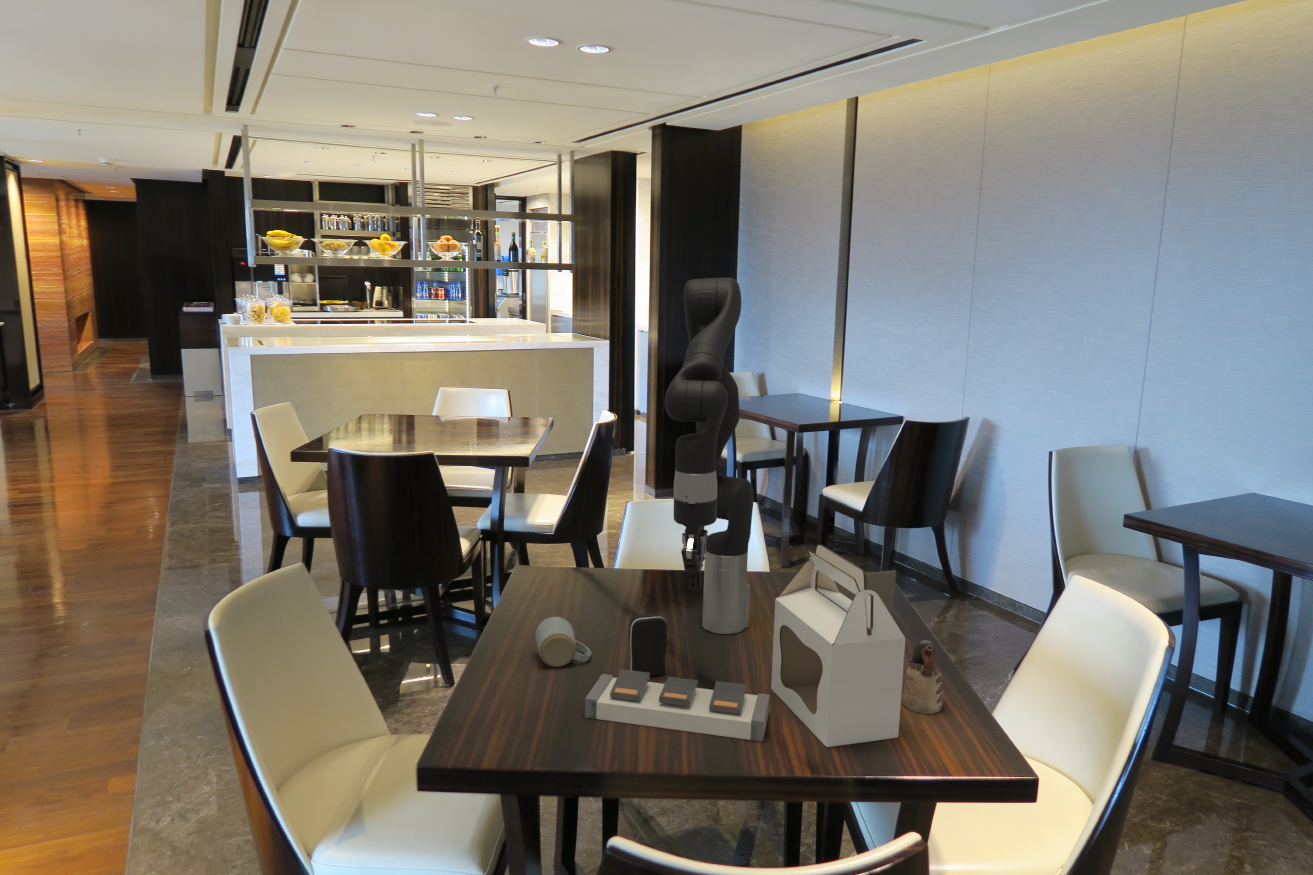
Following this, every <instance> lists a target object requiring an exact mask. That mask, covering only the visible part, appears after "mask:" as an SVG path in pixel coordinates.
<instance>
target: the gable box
mask: <svg viewBox="0 0 1313 875" xmlns="http://www.w3.org/2000/svg"><path fill="white" fill-rule="evenodd" d="M808 552H809V555H810V556H809V558H808V560H806V562H804V563H803V565H802V566H801V567H800V568H799V570H798V571H796V573H795V574H794V576H793V577H792V578H791V579H790V581H789V582H788V583H787V585H786V586H785V587H784V588H783V590H781V593H779V595H778V596H777V597H775V600H774V622H773V642H772V643H773V644H772V663H771V682H770V684H771V685H770V688H771V690H772V692H773V693H774V694H776V695H777V697H779V699H780V700H781V701H782V702H783V703H784V704H785V705H786V706H787V707H788V708H789V709H790V710H791V711H792V712H793V714H794V715H795V716H796V717H798V719H799V720H800V721H801V722H802V723H803V724H804V726H805V727H807V728H808V730H809V731H811V733H813V735H814V736H815V737H816V738H817V739H818V740H819V741H820V743H822V744H823V745H824V747H825V748H832V747H838V746H839V747H840V746H846V745H855V744H861V743H868V742H869V743H870V742H876V741H882V740H889V739H890V740H891V739H897V738H899V732H900V731H899V730H900V718H901V705H902V703H901V693H902V687H903V680H904V664H905V649H906V636H905V635H904V634H903V632H902V631H901V629H900V627H899V625H898V624H897V622H896V621H895V620H894V617H893V618H892V616H891V615H890V613H889V611H888V610H887V608H886V607H885V605H884V604H883V602H882V600H881V599H880V597H879V596H878V594H877V593H876V592H874V591H872V590H867V583H866V573H867V572H866V571H865V570H864V569H863V568H861V567H859V566H858V565H857V564H855V563H853V562H852V561H849V560H848V559H846V558H844V557H843V556H841V555H839V554H838V553H836V552H835V551H833V550H832V549H829V548H828V547H826V546H824V545H823V544H817V547H816V551H815V552H813V551H812V550H808ZM834 581H836V582H837V583H839V584H840V585H842V586H843V587H845V588H846V589H848V590H849V591H851V592H852V593H854V594H855V597H854V599H853V601H852V600H850V599H849V598H847V597H846V596H844V595H843V594H841V593H839V591H838V588H837V586H836V584H835V582H834ZM868 634H869V635H868Z"/></svg>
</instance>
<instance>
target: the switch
mask: <svg viewBox="0 0 1313 875" xmlns="http://www.w3.org/2000/svg"><path fill="white" fill-rule="evenodd" d="M616 678H617V679H616V681H615V683H614V685H613V688H612V690H611V692H610V698H617V699H624V700H632V701H641V698H642V696H643V693H644V691H645V688H646V686H647V683H648V682H650V681H649V680H650V678H651V676H650V673H648V672H640V671H631V670H630V669H620V671H619V673H618V675H617V677H616Z"/></svg>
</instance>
